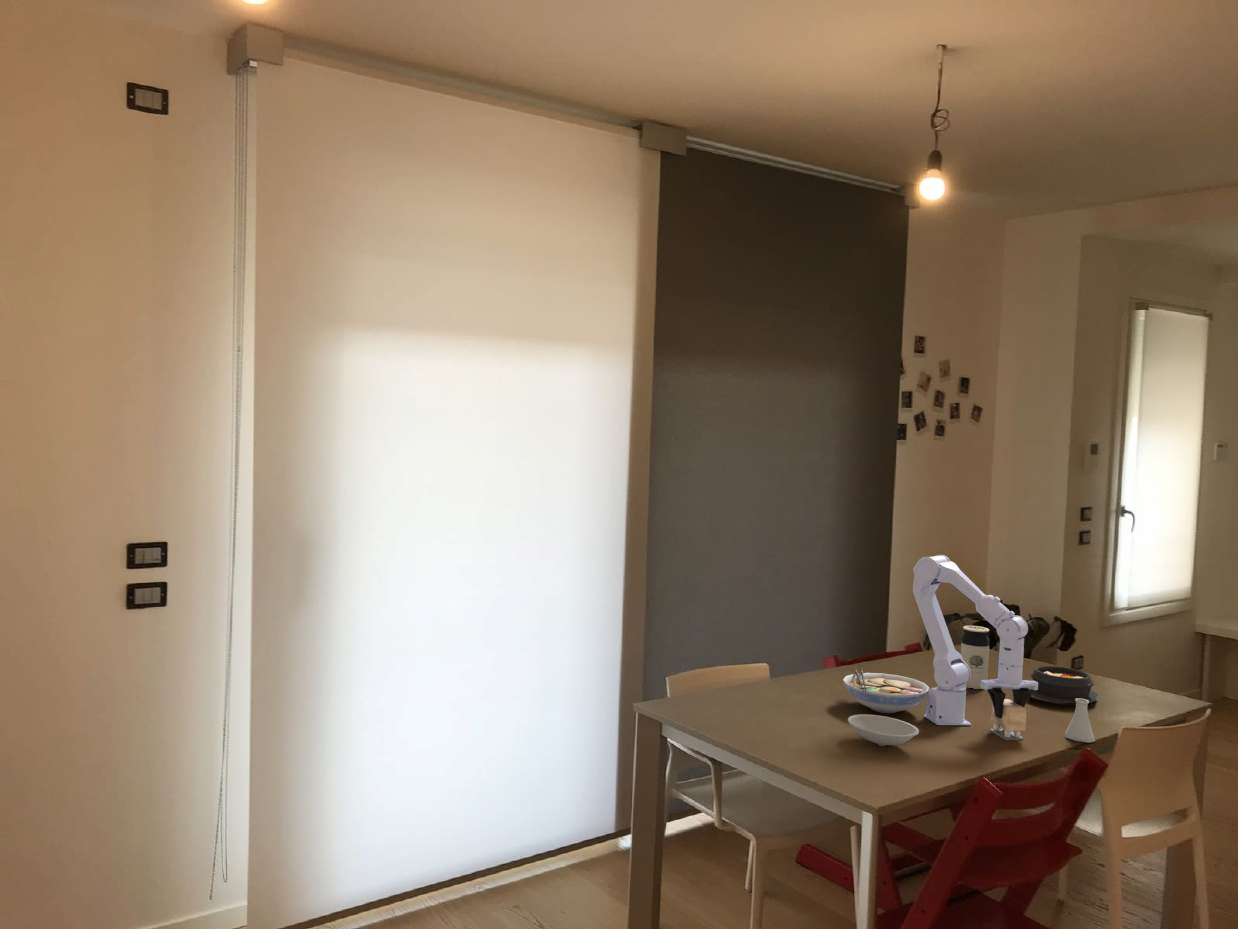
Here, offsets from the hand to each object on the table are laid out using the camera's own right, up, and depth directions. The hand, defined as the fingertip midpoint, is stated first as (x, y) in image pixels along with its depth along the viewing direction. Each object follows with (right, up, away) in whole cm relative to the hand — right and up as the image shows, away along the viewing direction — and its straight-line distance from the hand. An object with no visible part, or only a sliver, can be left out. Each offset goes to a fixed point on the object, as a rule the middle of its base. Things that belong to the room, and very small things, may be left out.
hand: (1007, 717), depth 241 cm
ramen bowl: (-26, -3, +18) cm, 32 cm away
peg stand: (0, -5, 0) cm, 5 cm away
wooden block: (0, -2, 0) cm, 2 cm away
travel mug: (+9, -4, +48) cm, 49 cm away
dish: (-35, -4, -12) cm, 38 cm away
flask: (+18, -6, 0) cm, 19 cm away
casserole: (+31, -5, +37) cm, 48 cm away
